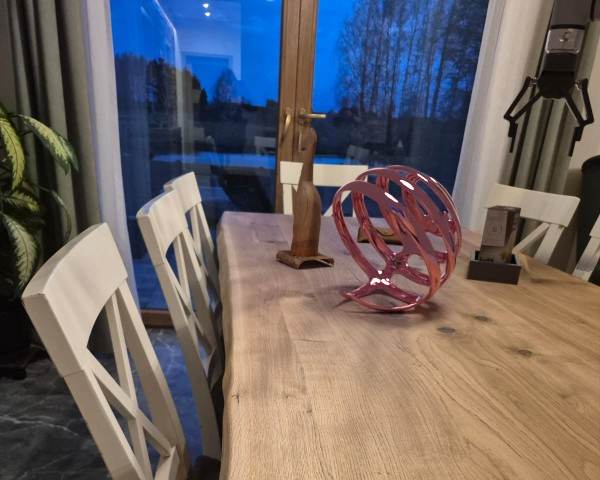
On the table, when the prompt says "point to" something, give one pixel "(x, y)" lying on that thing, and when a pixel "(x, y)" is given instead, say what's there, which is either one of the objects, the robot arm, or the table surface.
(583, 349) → the table surface
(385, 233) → the sunglasses case
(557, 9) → the robot arm
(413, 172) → the spiral basket
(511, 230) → the coffee box
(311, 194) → the bird sculpture
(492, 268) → the box
